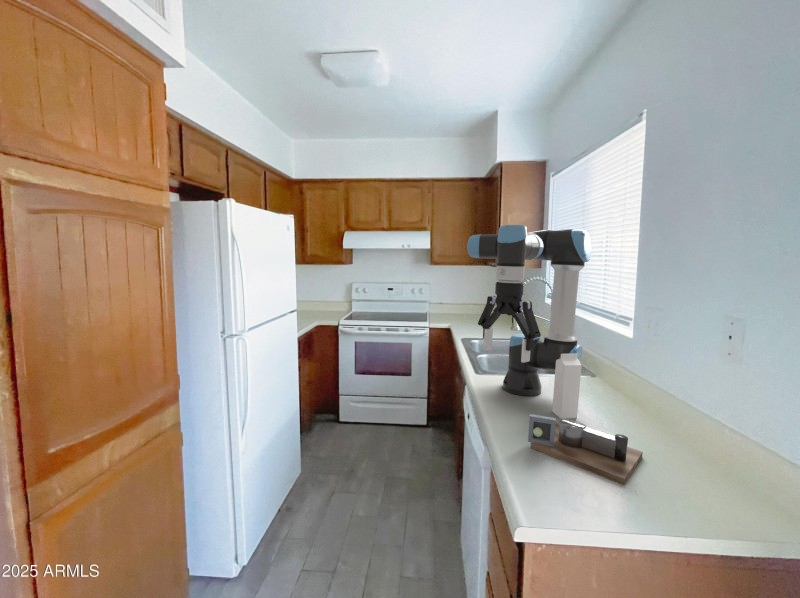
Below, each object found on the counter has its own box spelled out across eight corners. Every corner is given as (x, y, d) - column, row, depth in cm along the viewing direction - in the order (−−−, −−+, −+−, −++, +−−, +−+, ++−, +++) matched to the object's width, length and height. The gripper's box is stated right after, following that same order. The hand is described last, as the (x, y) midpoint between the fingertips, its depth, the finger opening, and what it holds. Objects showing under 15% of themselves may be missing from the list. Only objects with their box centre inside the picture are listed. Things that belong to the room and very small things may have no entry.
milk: (552, 411, 134) (555, 351, 132) (568, 411, 135) (572, 351, 132) (560, 419, 128) (565, 356, 126) (577, 418, 129) (582, 355, 126)
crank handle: (554, 440, 110) (555, 421, 109) (564, 432, 115) (565, 414, 114) (622, 465, 97) (624, 443, 97) (629, 455, 102) (631, 434, 102)
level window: (528, 439, 111) (529, 413, 110) (553, 444, 108) (555, 418, 107) (527, 443, 108) (529, 417, 107) (553, 448, 106) (555, 422, 105)
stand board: (556, 427, 122) (556, 422, 122) (642, 457, 105) (642, 450, 105) (530, 447, 109) (531, 441, 109) (624, 484, 92) (624, 477, 92)
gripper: (468, 278, 113) (465, 347, 116) (539, 286, 93) (534, 369, 96) (485, 277, 117) (482, 344, 120) (558, 284, 97) (552, 364, 100)
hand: (505, 355), depth 108 cm, fingers open, 13 cm apart
